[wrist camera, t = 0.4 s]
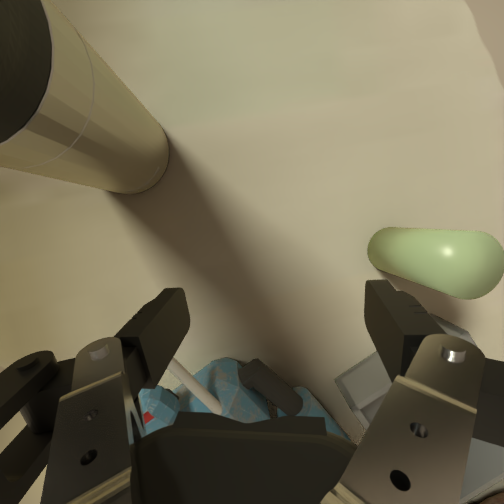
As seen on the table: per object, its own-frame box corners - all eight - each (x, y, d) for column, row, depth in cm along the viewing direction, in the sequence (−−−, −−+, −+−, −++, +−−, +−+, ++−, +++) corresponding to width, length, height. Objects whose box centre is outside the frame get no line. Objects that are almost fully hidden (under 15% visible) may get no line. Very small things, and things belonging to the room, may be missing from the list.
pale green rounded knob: (359, 244, 30) (424, 257, 19) (396, 218, 30) (484, 217, 19) (382, 279, 31) (458, 312, 20) (419, 254, 30) (517, 273, 19)
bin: (333, 379, 32) (350, 408, 27) (432, 313, 31) (467, 331, 26) (405, 478, 34) (432, 522, 29) (499, 418, 33) (543, 453, 28)
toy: (235, 630, 28) (8, 485, 21) (232, 526, 37) (71, 397, 30) (403, 517, 27) (227, 320, 20) (359, 437, 36) (225, 280, 28)
